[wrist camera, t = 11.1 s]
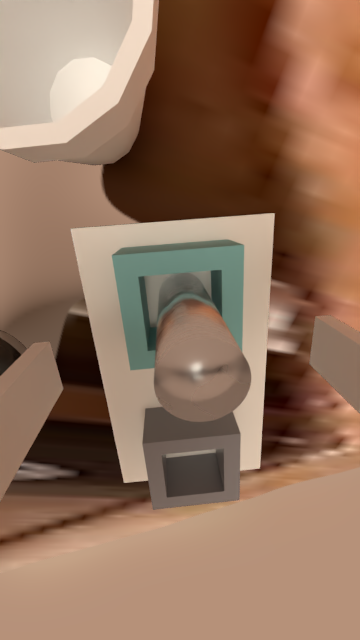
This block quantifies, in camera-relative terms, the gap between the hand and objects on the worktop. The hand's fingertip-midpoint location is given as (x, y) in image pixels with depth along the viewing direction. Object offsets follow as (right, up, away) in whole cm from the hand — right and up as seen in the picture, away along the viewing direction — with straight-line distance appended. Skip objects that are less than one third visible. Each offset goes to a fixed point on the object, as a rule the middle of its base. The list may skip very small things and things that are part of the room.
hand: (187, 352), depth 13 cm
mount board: (0, -3, +14) cm, 14 cm away
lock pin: (0, +4, +10) cm, 10 cm away
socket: (0, +4, +10) cm, 10 cm away
